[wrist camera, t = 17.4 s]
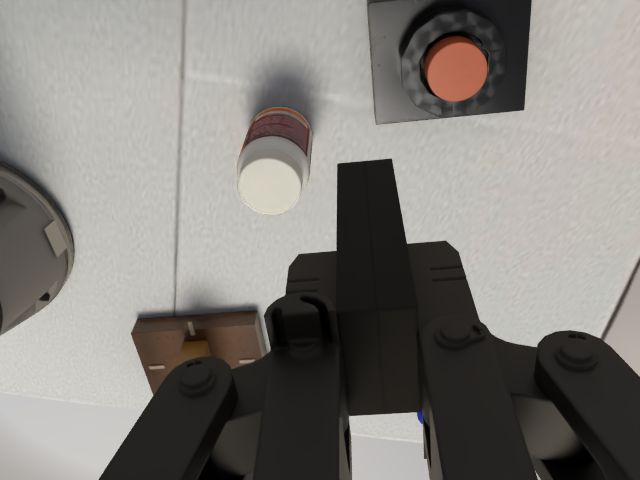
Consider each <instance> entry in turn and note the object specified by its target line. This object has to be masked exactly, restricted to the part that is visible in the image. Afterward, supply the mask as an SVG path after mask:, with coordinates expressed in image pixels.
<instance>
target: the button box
mask: <svg viewBox="0 0 640 480" xmlns="http://www.w3.org/2000/svg"><path fill="white" fill-rule="evenodd" d="M367 12H368V27H369V41H370V55H371V70H372V84H373V99H374V113H375V120H376V124H387V123H398V122H408V121H418V120H428V119H439V118H449V117H459V116H469V115H479V114H490V113H500V112H510V111H520V110H524V104H525V89H526V75H527V60H528V45H529V30H530V15H531V0H367ZM449 36H463V37H466V38H469V39H470V40H472V41H473V42H474V43H475V44H476V45H477V46H478V47H479V49H480V50H481V51H482V53H483V54H484V56H485V58H486V61H487V67H488V70H487V76H486V79H485V82H484V84H483V85H482V87H481V88H480V89H479V91H478V92H477V93H475V94H474V95H473V96H471V97H470V98H468V99H465V100H462V101H455V102H453V101H446V100H443V99H441V98H439V97H438V96H437V95H435V94H434V93H433V91H432V90H431V88H430V86H429V84H428V81H427V79H426V76H425V72H424V63H425V59H426V56H427V54H428V52H429V50H430V49H431V48H432V46H433V45H434V44H435V43H437V42H438V41H440V40H441V39H443V38H446V37H449Z"/></svg>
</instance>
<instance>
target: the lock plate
mask: <svg viewBox="0 0 640 480" xmlns="http://www.w3.org/2000/svg"><path fill="white" fill-rule="evenodd" d="M131 335H132V338H133V341H134V343H135V346H136V349H137V352H138V354H139V357H140V360H141V362H142V365H143V368H144V371H145V373H146V376H147V379H148V382H149V384H150V387H151V390H152V393H153V395H154V394H155V393H156V391H157V390H158V388H159V387H160V385H161V384H162V382H163V381H164V379H165V378H166V376H167V375H168V374H169V373H170V372H171V371H172V370H173V369H174V368H175V365H176V362H177V359H178V356H179V353H180V350H181V347H182V344H183V342H187V341H202V340H207V341H208V345H209V348H210V352H211V356H212V357H216V358H219V359H223V360H224V361H225V362H226V363H227V364H229V365H230V367H231V369H233V368H236V367H239V366H242V365H245V364H249V363H251V362H254V361H256V360H258V359H260V358H262V357H263V356H265V355H267V353H266V349H265V344H264V340H263V335H262V330H261V326H260V321H259V316H258V312H257V311H243V312H229V313H216V314H202V315H188V316H174V317H161V318H147V319H137V321H136V323H135V326H134V328H133V330H132V332H131Z"/></svg>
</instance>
